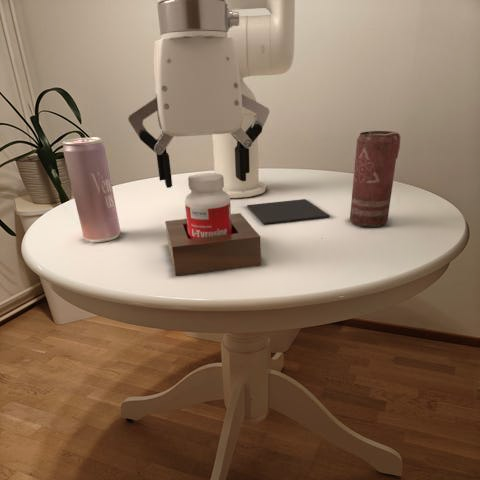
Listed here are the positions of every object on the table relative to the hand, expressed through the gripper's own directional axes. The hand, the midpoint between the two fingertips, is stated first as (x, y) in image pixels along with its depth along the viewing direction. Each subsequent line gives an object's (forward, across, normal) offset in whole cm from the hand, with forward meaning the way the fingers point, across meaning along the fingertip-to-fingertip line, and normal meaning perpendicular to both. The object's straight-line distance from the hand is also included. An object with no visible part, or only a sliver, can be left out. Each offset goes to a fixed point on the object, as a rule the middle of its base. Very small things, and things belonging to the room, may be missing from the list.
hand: (205, 182), depth 55 cm
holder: (+10, 0, -1) cm, 10 cm away
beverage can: (+10, +16, -15) cm, 24 cm away
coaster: (+10, -17, -18) cm, 27 cm away
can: (+10, -28, -7) cm, 31 cm away
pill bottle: (+10, 0, -1) cm, 11 cm away
